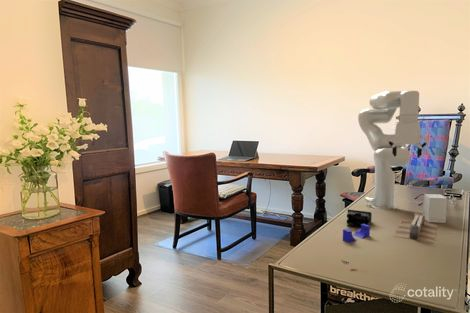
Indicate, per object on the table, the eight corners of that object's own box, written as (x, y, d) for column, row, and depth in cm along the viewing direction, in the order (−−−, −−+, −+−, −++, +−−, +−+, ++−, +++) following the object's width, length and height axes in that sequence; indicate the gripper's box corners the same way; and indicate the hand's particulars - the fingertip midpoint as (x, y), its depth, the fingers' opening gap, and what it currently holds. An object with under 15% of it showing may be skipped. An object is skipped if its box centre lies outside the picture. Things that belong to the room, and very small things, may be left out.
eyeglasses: (458, 209, 173) (459, 200, 173) (418, 206, 180) (418, 197, 179) (451, 201, 188) (451, 192, 188) (413, 199, 195) (414, 190, 194)
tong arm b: (420, 236, 133) (420, 227, 133) (415, 235, 134) (415, 226, 134) (424, 222, 149) (425, 214, 148) (419, 221, 150) (420, 213, 149)
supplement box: (445, 225, 149) (447, 198, 148) (427, 225, 151) (429, 197, 149) (439, 220, 157) (441, 194, 155) (422, 219, 158) (423, 193, 156)
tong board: (433, 247, 127) (434, 230, 126) (393, 239, 135) (393, 224, 134) (437, 228, 147) (438, 213, 146) (402, 222, 155) (403, 208, 154)
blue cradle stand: (360, 236, 140) (360, 222, 139) (369, 240, 136) (369, 225, 135) (339, 242, 134) (340, 228, 133) (348, 246, 130) (349, 231, 129)
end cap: (371, 225, 153) (371, 210, 152) (369, 229, 147) (369, 215, 146) (348, 221, 158) (348, 207, 157) (345, 226, 152) (345, 211, 151)
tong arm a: (413, 234, 135) (413, 226, 134) (408, 234, 136) (408, 225, 135) (419, 221, 150) (419, 213, 149) (414, 220, 151) (415, 213, 150)
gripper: (386, 119, 152) (384, 156, 155) (430, 119, 143) (427, 159, 145) (389, 118, 158) (387, 154, 161) (431, 118, 149) (429, 156, 151)
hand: (406, 156), depth 153 cm, fingers open, 9 cm apart
